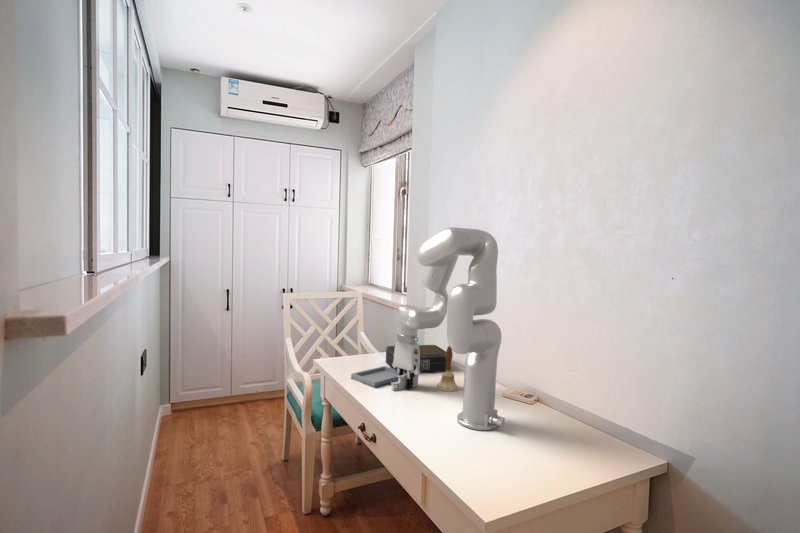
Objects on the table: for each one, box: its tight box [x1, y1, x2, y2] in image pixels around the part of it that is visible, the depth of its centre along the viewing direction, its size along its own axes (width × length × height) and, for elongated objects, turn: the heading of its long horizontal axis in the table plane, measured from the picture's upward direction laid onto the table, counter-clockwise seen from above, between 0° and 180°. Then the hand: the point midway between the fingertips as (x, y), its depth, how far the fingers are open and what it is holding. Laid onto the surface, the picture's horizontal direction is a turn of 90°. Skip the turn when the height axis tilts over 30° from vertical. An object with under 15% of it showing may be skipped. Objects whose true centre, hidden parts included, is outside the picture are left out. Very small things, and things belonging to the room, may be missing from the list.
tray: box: [350, 365, 405, 389], centre depth 166 cm, size 14×18×2 cm
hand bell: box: [436, 345, 459, 392], centre depth 159 cm, size 8×8×16 cm
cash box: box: [385, 344, 447, 374], centre depth 186 cm, size 25×20×8 cm
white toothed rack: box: [391, 372, 419, 392], centre depth 157 cm, size 12×2×6 cm, turn 126°
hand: (404, 386), depth 157 cm, fingers open, 3 cm apart
